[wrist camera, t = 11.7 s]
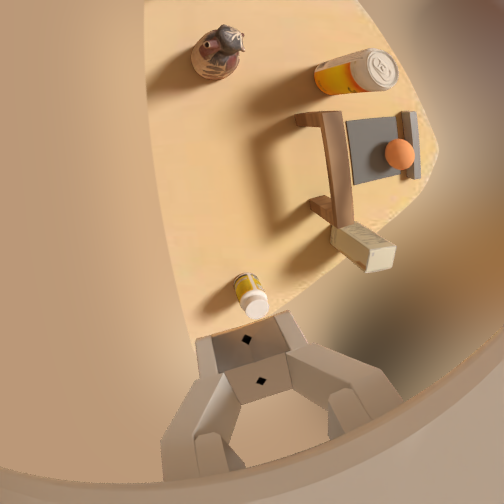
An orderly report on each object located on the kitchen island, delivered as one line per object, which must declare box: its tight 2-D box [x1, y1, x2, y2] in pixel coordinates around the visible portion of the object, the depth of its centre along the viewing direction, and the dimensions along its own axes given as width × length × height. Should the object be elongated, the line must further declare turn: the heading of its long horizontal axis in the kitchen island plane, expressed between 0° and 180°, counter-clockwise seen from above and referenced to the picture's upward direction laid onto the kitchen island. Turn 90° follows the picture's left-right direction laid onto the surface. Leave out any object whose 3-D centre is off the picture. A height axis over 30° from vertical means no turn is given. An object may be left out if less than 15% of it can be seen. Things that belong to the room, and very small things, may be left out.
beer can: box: [314, 48, 399, 95], centre depth 32 cm, size 6×6×15 cm
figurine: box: [191, 25, 245, 80], centre depth 29 cm, size 7×7×12 cm
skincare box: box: [330, 221, 397, 273], centre depth 47 cm, size 6×4×12 cm
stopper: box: [401, 111, 421, 180], centre depth 46 cm, size 14×2×2 cm, turn 13°
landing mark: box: [346, 117, 401, 185], centre depth 46 cm, size 12×12×1 cm
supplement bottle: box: [234, 273, 269, 319], centre depth 48 cm, size 5×5×8 cm
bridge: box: [295, 111, 354, 229], centre depth 41 cm, size 3×17×10 cm, turn 13°
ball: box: [385, 139, 415, 170], centre depth 45 cm, size 6×6×6 cm
